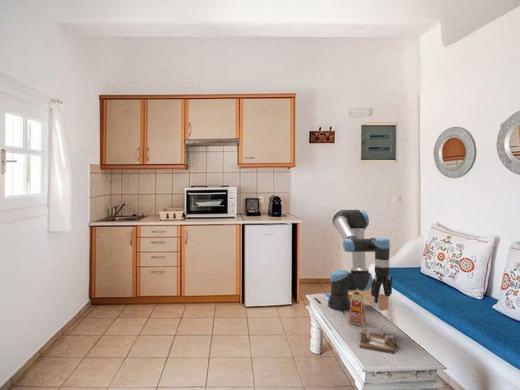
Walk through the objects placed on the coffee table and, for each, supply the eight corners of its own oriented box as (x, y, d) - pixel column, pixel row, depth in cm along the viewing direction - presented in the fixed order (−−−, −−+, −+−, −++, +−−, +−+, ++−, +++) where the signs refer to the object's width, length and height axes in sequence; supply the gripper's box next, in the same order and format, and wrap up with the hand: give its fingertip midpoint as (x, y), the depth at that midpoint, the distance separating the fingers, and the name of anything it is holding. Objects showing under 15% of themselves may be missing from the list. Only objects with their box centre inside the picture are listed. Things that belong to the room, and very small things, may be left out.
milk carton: (364, 326, 194) (364, 291, 193) (347, 323, 198) (347, 289, 197) (366, 320, 202) (366, 287, 201) (350, 317, 206) (350, 285, 205)
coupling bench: (362, 334, 183) (362, 323, 183) (394, 339, 177) (394, 328, 177) (359, 347, 168) (359, 335, 168) (393, 353, 162) (394, 341, 162)
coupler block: (374, 307, 188) (374, 295, 188) (381, 306, 190) (381, 294, 190) (381, 310, 183) (381, 298, 183) (388, 309, 185) (388, 296, 185)
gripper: (373, 269, 179) (372, 312, 180) (399, 266, 186) (398, 307, 187) (364, 266, 186) (363, 307, 187) (389, 263, 193) (389, 303, 194)
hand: (381, 307), depth 187 cm, fingers closed on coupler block, 5 cm apart
